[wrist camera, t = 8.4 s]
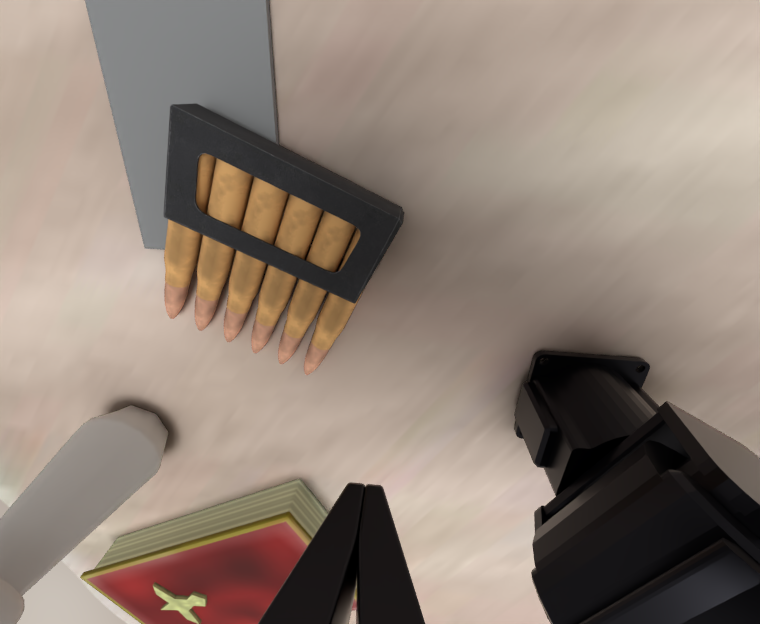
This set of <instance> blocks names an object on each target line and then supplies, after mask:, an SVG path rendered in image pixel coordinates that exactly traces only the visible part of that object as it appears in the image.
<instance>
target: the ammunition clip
mask: <svg viewBox="0 0 760 624" xmlns="http://www.w3.org/2000/svg"><path fill="white" fill-rule="evenodd" d="M289 194H290V196H289ZM249 195H250V196H249ZM288 197H289V199H288ZM248 199H249V201H248ZM287 200H288V202H287ZM247 203H248V205H247ZM286 204H287V205H286ZM246 207H247V209H246ZM285 207H286V209H285ZM284 210H285V212H284ZM323 210H324V213H323V216H322V218H321V215H322V212H323ZM245 211H246V213H245ZM283 213H284V215H283ZM163 216H164V217H165V218H167V219H168V227H167V236H166V244H165V253H164V260H165V267H166V274H165V306H166V310H167V313H168V315H169V317H170V318H171V319H174V318H175V317H176V316H177V315H178V314H179V312H180V310H181V309H182V307H183V305H184V303H185V300H186V297H187V294H188V289H189V284H190V282H191V278H192V274H193V272H194V269H195V267H196V265H197V263H198V265H197V280H198V283H197V290H196V300H195V321H196V325H197V327H198V329H199V330H200V331H202V330H203V329H205V328H206V326H207V325H208V324H209V322H210V321H211V319H212V317H213V315H214V313H215V310H216V308H217V304H218V301H219V298H220V295H221V292H222V289H223V286H224V284H225V282H226V281H227V279H228V277H229V273H230V270H231V266H232V262H233V258H234V254H235V250H236V254H235V258H234V262H233V266H232V271H231V275H230V279H229V295H228V300H227V308H226V312H225V318H224V335H225V339H226V341H227V342H231V341H232V340H233V339H234V338H235V337H236V336H237V334H238V333H239V331H240V330H241V328H242V326H243V324H244V322H245V319H246V316H247V313H248V311H249V309H250V306H251V304H252V301H253V299H254V298H255V296H256V294H257V293H258V290H259V288H260V285H261V282H262V279H263V275H264V272H265V269H266V266H267V264H268V267H267V271H266V274H265V277H264V280H263V284H262V287H261V290H260V293H259V299H258V309H257V313H256V319H255V322H254V326H253V331H252V340H251V341H252V350H253V352H254V353H258V352H259V351H260V350H261V349H262V348H263V347H264V346H265V344H266V343H267V342H268V340H269V338H270V336H271V335H272V333H273V330H274V328H275V325H276V323H277V322H278V319H279V317H280V315H281V313H282V312H283V310H284V309H285V307H286V306H287V304H288V301H289V298H290V296H291V293H292V291H293V288H294V285H295V283H296V280H297V278H299V280H298V283H297V286H296V288H295V291H294V294H293V296H292V299H291V302H290V305H289V308H288V314H287V320H286V323H285V326H284V331H283V333H282V336H281V340H280V344H279V350H278V359H279V363H280V364H283V363H285V362H286V361H287V360H288V359H289V358H290V357H291V356H292V355H293V354H294V352H295V351H296V349H297V347H298V346H299V344H300V342H301V340H302V338H303V336H304V335H305V333H306V331H307V329H308V327H309V325H310V324H311V323H312V321H313V320H314V319H315V317H316V315H317V313H318V311H319V308H320V306H321V304H322V302H323V300H324V297H325V295H326V293H327V291H328V292H329V293H328V295H327V297H326V300H325V302H324V304H323V306H322V309H321V311H320V313H319V316H318V318H317V323H316V328H315V331H314V334H313V336H312V340H311V343H310V345H309V347H308V350H307V354H306V358H305V364H304V371H305V374H306V375H308V374H310V373H312V372H313V371H314V370H315V369H316V368H317V367H318V366H319V365H320V363H321V362H322V360H323V359H324V358H325V356H326V354H327V352H328V351H329V349H330V348H331V346H332V344H333V343H334V341H335V339H336V338H337V337H338V336H339V334H340V333H341V332H342V330H343V329H344V327H345V325H346V323H347V321H348V319H349V317H350V316H351V314H352V312H353V310H354V308H355V306H356V304H357V302H358V300H359V298H360V296H361V294H362V292H363V290H364V289H365V287H366V285H367V283H368V281H369V280H370V278H371V276H372V275H373V273H374V271H375V269H376V268H377V266H378V264H379V263H380V261H381V259H382V257H383V256H384V254H385V252H386V251H387V249H388V247H389V246H390V244H391V242H392V240H393V239H394V237H395V235H396V234H397V232H398V230H399V228H400V227H401V225H402V223H403V217H404V212H403V210H402V207H400V206H398V205H396V204H394V203H392V202H390V201H388V200H386V199H384V198H382V197H380V196H378V195H376V194H374V193H372V192H370V191H368V190H366V189H364V188H362V187H360V186H358V185H356V184H354V183H352V182H350V181H349V180H347V179H345V178H343V177H341V176H339V175H337V174H335V173H333V172H331V171H329V170H327V169H325V168H323V167H321V166H319V165H317V164H315V163H313V162H311V161H309V160H307V159H305V158H303V157H301V156H299V155H297V154H295V153H293V152H291V151H289V150H287V149H285V148H283V147H281V146H280V145H278V144H276V143H274V142H272V141H270V140H268V139H266V138H264V137H262V136H260V135H258V134H256V133H254V132H252V131H250V130H248V129H246V128H244V127H242V126H240V125H238V124H236V123H234V122H232V121H230V120H228V119H226V118H224V117H222V116H220V115H218V114H216V113H214V112H212V111H211V110H209V109H207V108H205V107H203V106H201V105H199V104H197V103H195V104H173V105H171V106H170V117H169V133H168V149H167V166H166V182H165V198H164V214H163ZM282 216H283V218H282ZM320 218H321V221H320V224H319V226H318V223H319V220H320ZM281 219H282V222H281ZM280 222H281V225H280ZM279 225H280V228H279ZM317 226H318V229H317V232H316V234H315V237H314V240H313V243H312V245H310V244H311V241H312V239H313V236H314V233H315V231H316V228H317ZM356 227H357V229H356V231H355V228H356ZM278 229H279V230H278ZM354 231H355V233H354ZM353 233H354V236H353V238H352V240H351V237H352V235H353ZM350 240H351V243H350V245H349V247H348V249H347V252H346V254H345V256H344V258H342V257H343V255H344V253H345V251H346V248H347V246H348V244H349V242H350ZM198 259H199V260H198Z"/></svg>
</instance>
